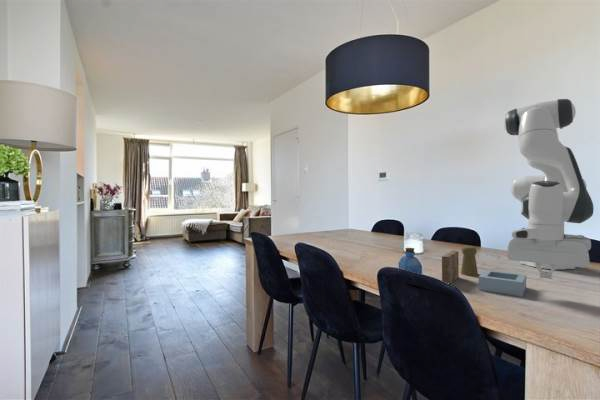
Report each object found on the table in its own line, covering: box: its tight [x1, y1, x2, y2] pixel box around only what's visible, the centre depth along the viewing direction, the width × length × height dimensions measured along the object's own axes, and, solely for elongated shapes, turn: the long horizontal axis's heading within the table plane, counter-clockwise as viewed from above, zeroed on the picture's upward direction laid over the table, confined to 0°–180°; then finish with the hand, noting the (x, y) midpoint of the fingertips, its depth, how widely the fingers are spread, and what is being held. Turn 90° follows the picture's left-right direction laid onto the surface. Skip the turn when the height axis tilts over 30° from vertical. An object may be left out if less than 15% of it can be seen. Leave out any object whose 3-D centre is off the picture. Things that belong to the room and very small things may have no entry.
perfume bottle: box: [398, 247, 423, 275], centre depth 119 cm, size 6×6×12 cm
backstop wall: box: [441, 250, 460, 285], centre depth 118 cm, size 14×2×10 cm, turn 140°
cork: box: [460, 245, 479, 277], centre depth 128 cm, size 6×6×11 cm
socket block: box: [478, 269, 527, 297], centre depth 108 cm, size 12×12×4 cm
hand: (545, 277), depth 100 cm, fingers closed
